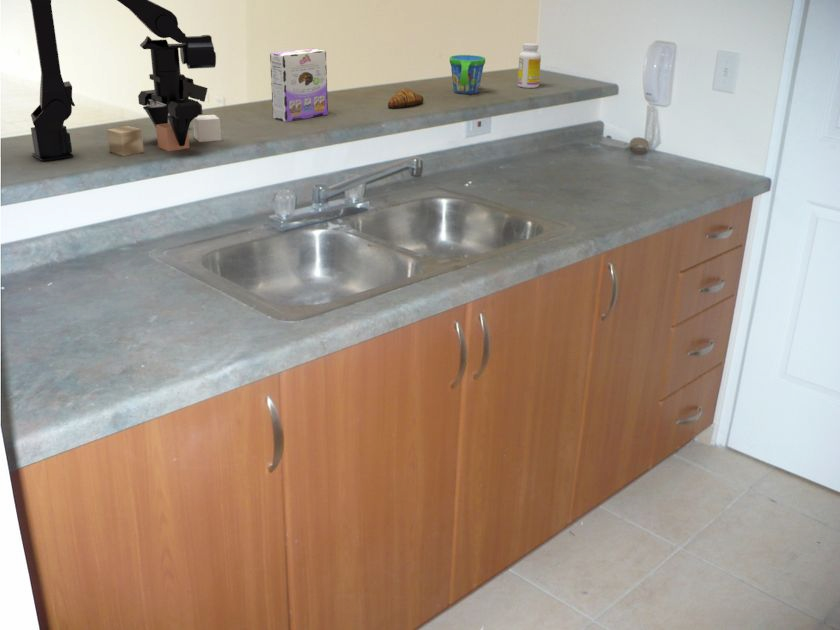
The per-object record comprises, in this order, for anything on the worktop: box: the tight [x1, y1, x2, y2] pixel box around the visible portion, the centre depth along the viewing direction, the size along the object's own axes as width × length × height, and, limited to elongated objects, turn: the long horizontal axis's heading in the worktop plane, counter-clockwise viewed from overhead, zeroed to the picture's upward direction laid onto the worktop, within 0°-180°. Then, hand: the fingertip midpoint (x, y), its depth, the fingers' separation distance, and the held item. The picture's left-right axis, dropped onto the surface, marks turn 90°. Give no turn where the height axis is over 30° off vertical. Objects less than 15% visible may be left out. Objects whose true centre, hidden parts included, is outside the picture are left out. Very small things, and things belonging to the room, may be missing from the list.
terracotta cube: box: [155, 123, 190, 152], centre depth 194 cm, size 5×5×5 cm
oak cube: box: [106, 125, 145, 157], centre depth 190 cm, size 5×5×5 cm
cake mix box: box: [269, 47, 329, 123], centre depth 224 cm, size 14×6×16 cm, turn 134°
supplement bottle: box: [517, 42, 542, 89], centre depth 273 cm, size 7×7×13 cm
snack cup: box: [449, 54, 486, 95], centre depth 262 cm, size 16×10×10 cm
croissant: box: [387, 88, 425, 109], centre depth 243 cm, size 14×7×5 cm, turn 139°
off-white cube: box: [192, 114, 222, 143], centre depth 202 cm, size 5×5×5 cm
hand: (173, 142), depth 195 cm, fingers open, 8 cm apart
